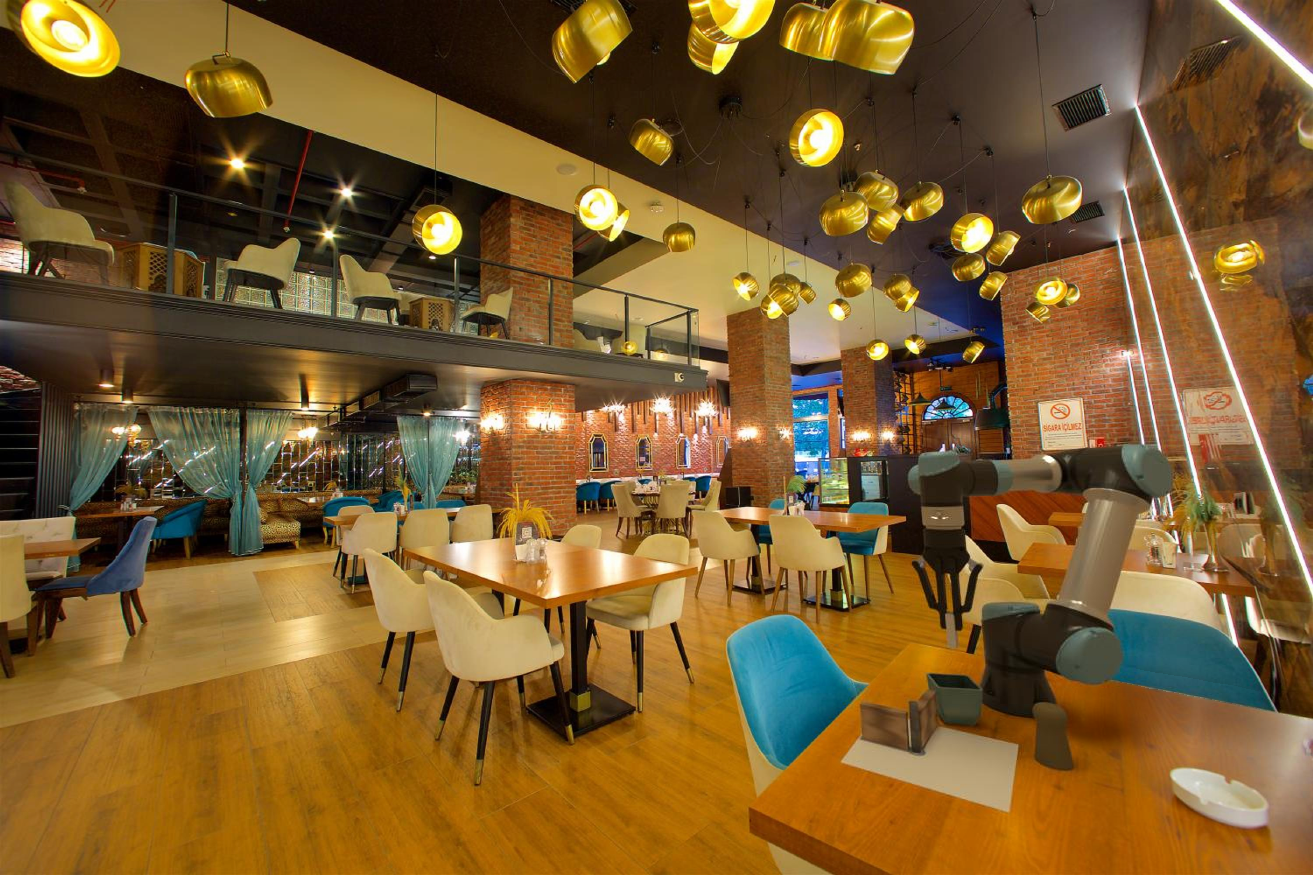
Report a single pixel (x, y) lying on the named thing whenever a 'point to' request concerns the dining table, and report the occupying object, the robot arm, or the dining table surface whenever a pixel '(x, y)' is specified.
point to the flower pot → (956, 698)
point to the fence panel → (927, 715)
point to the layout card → (946, 765)
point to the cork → (1052, 737)
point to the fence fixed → (891, 725)
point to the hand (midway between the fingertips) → (953, 646)
